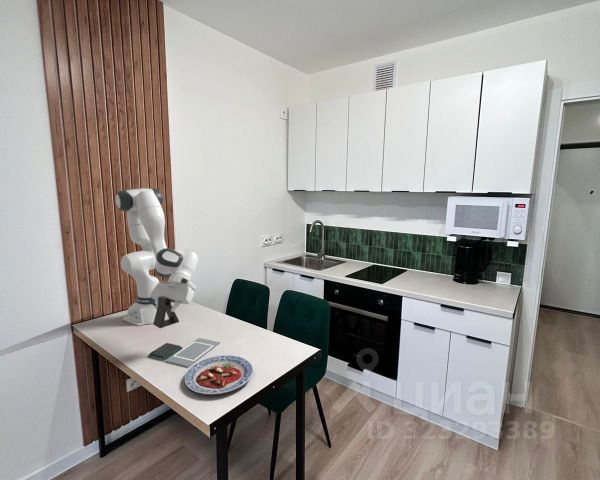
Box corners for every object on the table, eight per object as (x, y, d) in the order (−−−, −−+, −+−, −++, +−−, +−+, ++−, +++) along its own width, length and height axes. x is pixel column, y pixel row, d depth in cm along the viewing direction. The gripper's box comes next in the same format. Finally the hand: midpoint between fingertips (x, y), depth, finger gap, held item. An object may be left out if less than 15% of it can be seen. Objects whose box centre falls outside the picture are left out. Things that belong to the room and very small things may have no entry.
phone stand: (159, 328, 140) (156, 301, 138) (153, 324, 144) (150, 298, 142) (179, 322, 147) (177, 296, 145) (172, 318, 151) (170, 293, 149)
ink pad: (148, 356, 143) (147, 353, 143) (166, 345, 153) (166, 342, 153) (164, 360, 140) (164, 357, 139) (182, 348, 150) (182, 345, 150)
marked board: (165, 361, 139) (165, 360, 139) (199, 339, 159) (198, 337, 159) (188, 367, 135) (188, 366, 134) (219, 343, 155) (219, 341, 155)
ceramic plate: (219, 408, 111) (219, 400, 110) (170, 384, 124) (169, 377, 123) (266, 371, 132) (266, 364, 132) (220, 354, 145) (219, 347, 145)
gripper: (156, 277, 152) (141, 304, 145) (192, 281, 145) (178, 310, 138) (164, 283, 157) (149, 310, 150) (199, 287, 150) (186, 316, 142)
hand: (163, 310), depth 144 cm, fingers closed on phone stand, 6 cm apart
